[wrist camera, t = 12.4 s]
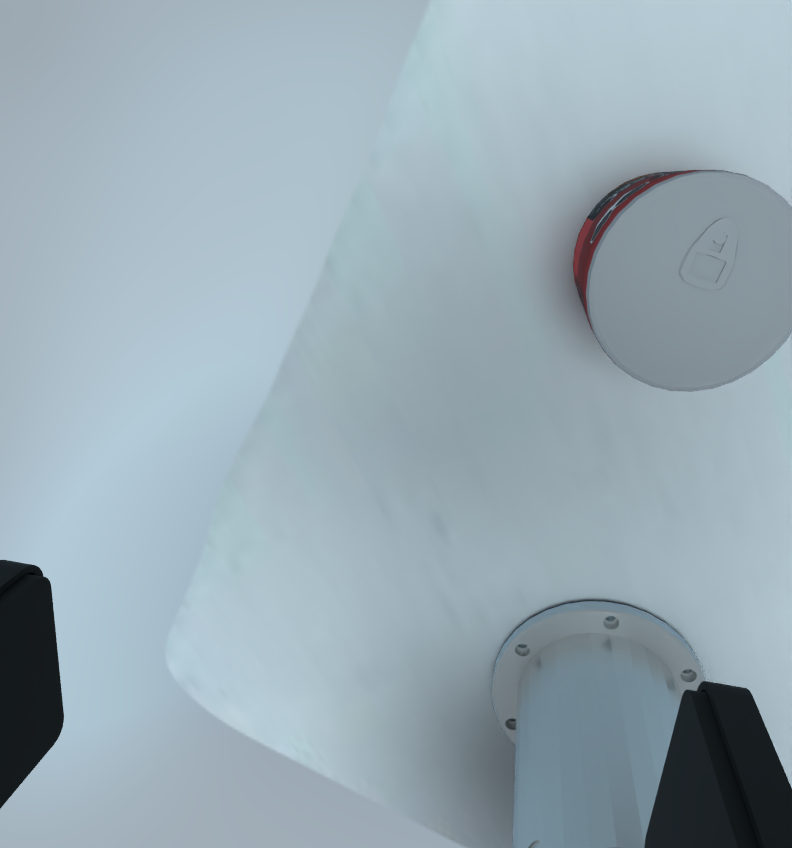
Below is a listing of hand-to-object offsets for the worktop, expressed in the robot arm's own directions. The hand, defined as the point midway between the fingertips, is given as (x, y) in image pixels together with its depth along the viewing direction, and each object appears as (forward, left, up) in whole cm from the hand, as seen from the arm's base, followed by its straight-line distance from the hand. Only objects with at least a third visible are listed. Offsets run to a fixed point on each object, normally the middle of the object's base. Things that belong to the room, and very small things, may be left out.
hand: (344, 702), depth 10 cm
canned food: (+4, -8, -31) cm, 32 cm away
